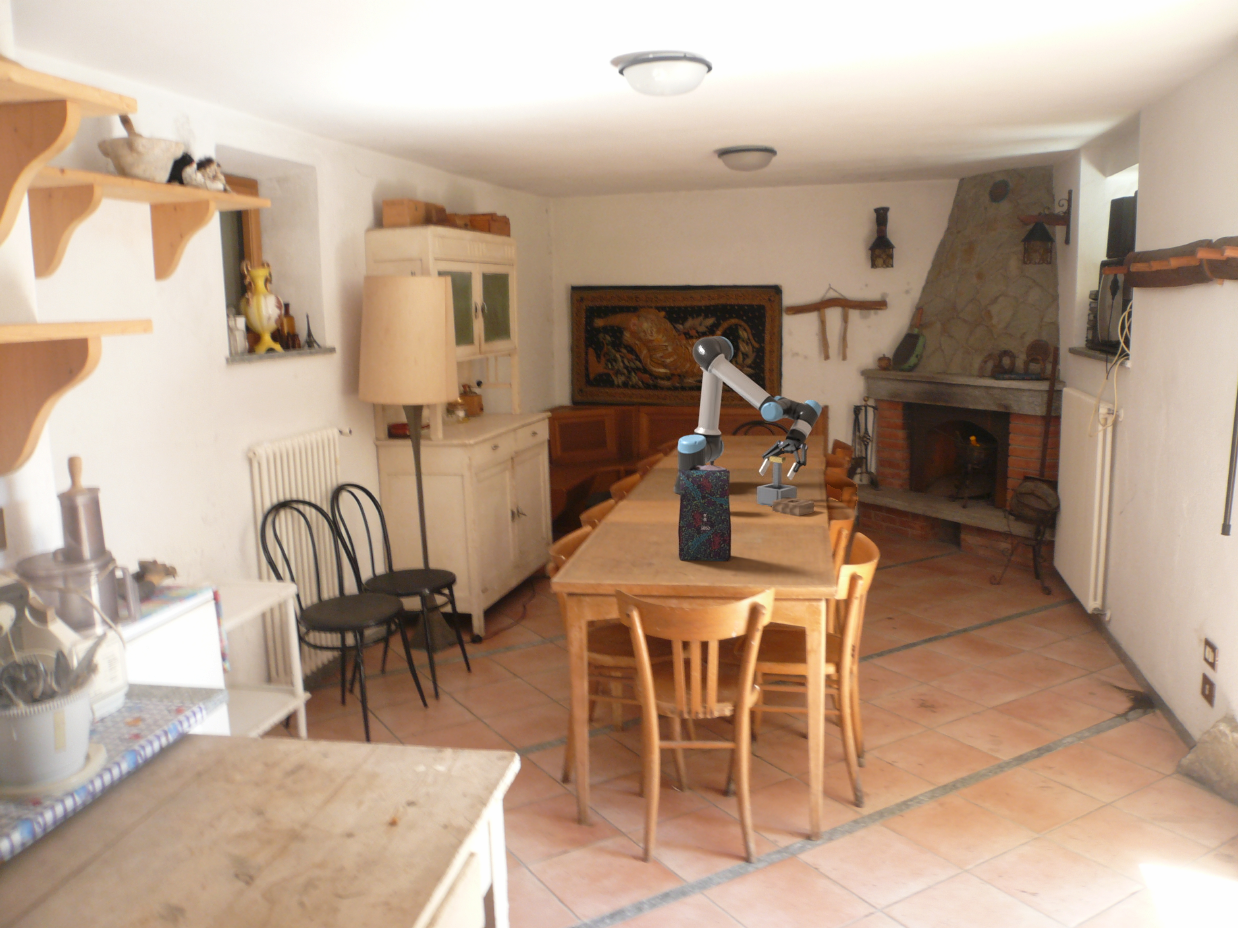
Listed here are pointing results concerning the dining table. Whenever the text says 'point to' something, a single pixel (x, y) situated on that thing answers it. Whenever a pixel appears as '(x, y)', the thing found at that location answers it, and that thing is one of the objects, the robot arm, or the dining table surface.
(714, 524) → the decorative box
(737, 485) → the dining table surface
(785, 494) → the grey square box
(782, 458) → the t key
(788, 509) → the block
